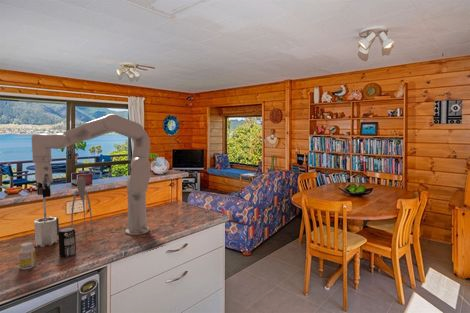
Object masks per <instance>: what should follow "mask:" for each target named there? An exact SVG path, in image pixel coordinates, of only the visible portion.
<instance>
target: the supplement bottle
mask: <svg viewBox="0 0 470 313" xmlns="http://www.w3.org/2000/svg"><path fill="white" fill-rule="evenodd" d="M20 248H21V249H20V250H19V251H18V252H19V268H20V269H21V270H29V269H33V268H34V267H35V266H36V265H37V262H36V257H37V256H36V248H35V247H34V243H33V242H32V241H29V242H24V243H22V244H21V246H20Z"/></svg>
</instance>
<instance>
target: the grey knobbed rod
mask: <svg viewBox="0 0 470 313" xmlns="http://www.w3.org/2000/svg"><path fill="white" fill-rule="evenodd" d="M42 189H43V187H42V188H39V195H38V196H42V198H43V199H42V201H43V218H44V221H40V222H48V221H52V220H46V217H47V206H46V197H43V192H42Z"/></svg>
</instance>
